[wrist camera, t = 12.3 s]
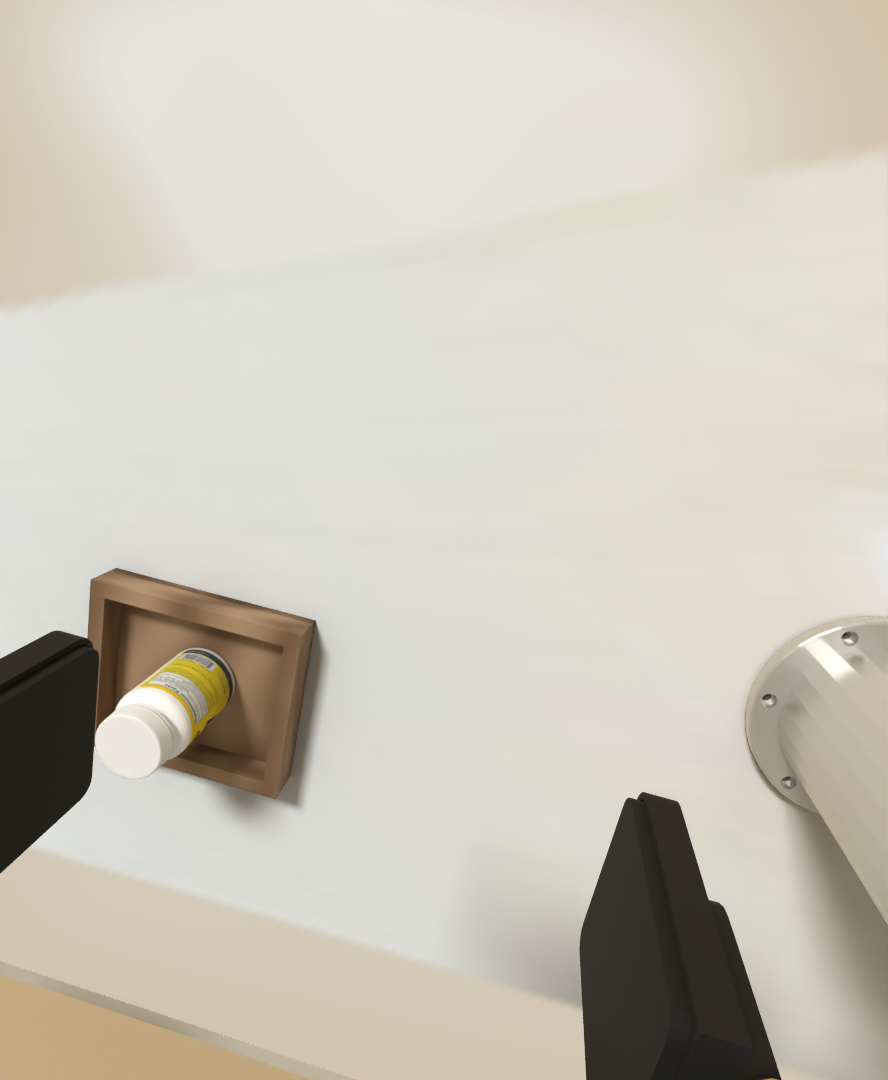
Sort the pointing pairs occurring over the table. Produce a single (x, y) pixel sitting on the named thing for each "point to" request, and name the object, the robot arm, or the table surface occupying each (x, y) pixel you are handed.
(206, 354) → the table surface
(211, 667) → the supplement bottle
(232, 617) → the tray
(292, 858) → the table surface
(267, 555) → the table surface
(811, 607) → the table surface
